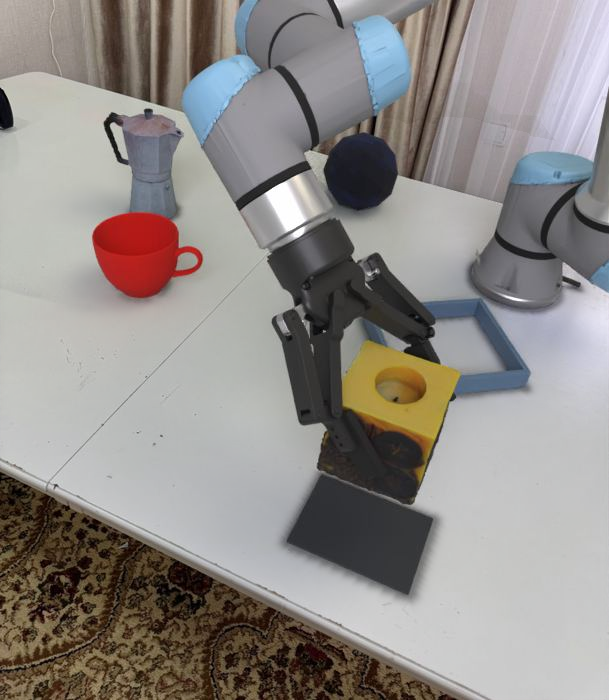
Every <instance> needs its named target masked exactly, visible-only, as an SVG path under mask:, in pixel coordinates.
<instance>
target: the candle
mask: <svg viewBox="0 0 609 700" xmlns="http://www.w3.org/2000/svg"><path fill="white" fill-rule="evenodd" d="M388 347H389V346H388ZM388 347H386V346H383V345H380V344H378V343H375V342H372V341H371V339H370V340H369V339H367V340H365V341H363V342H362V344H361V347H360V349H359V352H358V354H357V355H356V357H355V358H354V359H353V362H352V363H351V365H350V367H349V368H348V369H347V371H345V374H344V376H342V400H343V411H344V410H349V409H352V411H353V413H354V414H355V416H356V418H357V420H358V421H359V423H360V425H361V427H362V428H363V430H364V432H365V434H366V435H367V437H368V439H369V441H370V442H371V444H372V446H373V448H374V449H375V451H376V453H377V455H378V456H379V458H380V460H381V462H382V463H383V465H384V467H385V469H386V471H387V472H386V473H385V474H384V475H383V476H380V477H361V476H360V474H359V472H358V470H357V469H356V467H355V465H354V464H353V462H352V460H351V458H350V457H349V455H348V453H347V452H341V451H340V450H339V449H338V448H337V446H336V445H335V443H334V441H333V439H332V438H331V436H330V434H329V433H328V431H327V430H325V431H324V433H323V437H322V438H321V442H320V451H319V454H318V459H317V462H316V469H317V470H318V471H319V472H324V473H326V475H330V476H333V477H335V478H337V479H339V481H343V482H347V483H349V484H352V485H354V486H356V487H359V488H363V489H365V490H367V491H368V492H373V493H376V494H377V495H382V496H385V497H387V498H390V499H392V500H395V501H397V502H399V503H400V504H402V505H409V506H412V505H413V504H415V502H416V498H417V496H418V493H419V491H420V490H421V487H422V485H423V482H424V478H425V476H426V473H427V472H428V471H427V470H428V468H429V465H430V463H431V461H432V459H433V456H434V453H435V448H436V446H437V444H438V443H439V441H440V436H441V433H442V432H443V431H442V430H443V428H444V425H445V420H446V417H447V413H448V412H449V406H450V403H451V402H450V399H451V398H452V396H453V395H454V389H455V386H456V384H457V382H458V379H459V377H460V375H461V372H460V370H458V369H455V368H453V367H450V366H447V365H443V364H441V365H440V364H437V363H433V362H430V361H427V360H424V359H421V358H418V357H415V356H412V355H409V354H406V353H404V352H403V351H400V350H397V349H393V348H392V347H389V348H388Z"/></svg>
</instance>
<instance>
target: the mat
mask: <svg viewBox="0 0 609 700" xmlns="http://www.w3.org/2000/svg"><path fill="white" fill-rule="evenodd" d="M301 511H302V512H301V513H300V515H299V517H298V519H297V520H296V523H295V525H294V526H293V528H292V530H291V532H290V534H289V536H288V538H287V540H286V543H288V544H289V545H292V546H294V547H297V548H298V549H301V550H304V551H306V552H308V553H310V554H313V555H315V556H318V557H319V558H322V559H325V560H327V561H328V562H331V563H334V564H335V565H338V566H339V567H342V568H345V569H347V570H350V571H351V572H354V573H356V574H358V575H361V576H363V577H366V578H367V579H370V580H371V581H372V580H373V581H374V582H377V583H380V584H382V585H384V586H386V587H389V588H392V589H393V590H395V591H397V592H399V593H402V594H405V595H407V596H409V595H410V592H411V588H412V586H413V582H414V579H415V576H416V574H417V571H418V567H419V564H420V562H421V558H422V555H423V553H424V549H425V547H426V543H427V540H428V537H429V534H430V531H431V527H432V525H433V521H434V518H433V517H430V516H428V515H425V514H422V513H420V512H417V511H415V510H413V509H409V508H408V507H405V506H403V505H399V504H397V503H395V502H392V501H390V500H387V499H385V498H382V497H380V496H377V495H375V494H372V493H370V492H367V491H365V490H362V489H359V488H357V487H354V486H352V485H349V484H347V483H346V482H345V483H344V482H342V481H341V480H337V479H335V478H332V477H330V476H327V475H324V474H321V476H320V477H319V478H318V481H317V483H316V484H315V487H314V489H313V490H312V492H311V494H310V496H309V498H308V500H307V502H306V503H305V505H304V508H303V510H301Z"/></svg>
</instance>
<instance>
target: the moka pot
mask: <svg viewBox="0 0 609 700" xmlns="http://www.w3.org/2000/svg"><path fill="white" fill-rule="evenodd" d="M153 112H154V109H152V108H150V107H149V108H148V107H146V108H144V109H143V113H139V114H135V115H132V116H128V115H126V114H118V113H116V112H113V111H111V112H110V114H108V116H106V118H105V120H103V123H102V125H103V127H104V128H103V129H104V131H105V134H106V137H107V138H108V141H109V144H110V146H111V148H112V149H113V154H114V155H115V158H116V161H117V163H119V164H121V165H124V166H129V167H130V168H131V174H132V176H131V185H130V186H131V188H130V200H129V201H130V202H129V203H130V204H129V213H134V212H145V213H153V214H157V215H161V216H163V217H166V218H168V219H170V220H171V219H173V217H175V216H176V215H177V201H176V196H175V194H176V193H175V188H174V182H173V177H172V172H173V171H172V170H173V169H172V168H173V161H174V160H173V159H174V155H175V153H176V150H177V148H178V146H179V144H180V142H181V140H182V139H183V138H185V134H184V133H185V132H184V131H182V130H181V129H180V128H179V127H177V126H176V125H177V123H176V121H175V120H173V119H171V118H169V117H166V116H164V115H163V114H157V113H154V114H153ZM113 123H114V124H115V125H117V126H118V127H120V128H121V132H122V136H123V140H124V145H125V150H126V155H127V159H126V158H123V157H122V154H121V152H120V150H119V146H118V144H117V142H116V141H117V140H116V138H115V136H114V132H113V130H112V128H111V124H113Z"/></svg>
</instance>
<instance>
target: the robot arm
mask: <svg viewBox="0 0 609 700" xmlns="http://www.w3.org/2000/svg"><path fill="white" fill-rule="evenodd" d="M437 2H439V0H243V2H242V3H241V5H240V6H239V8H238V10H237V13H236V16H235V18H234V19H235V20H234V26H233V29H234V30H233V31H234V38H235V39H234V40H235V42H236V45H237V47H238V49H239V51H240V53H241V54H234V55H233V56H230V57H229V58H227V59H226V58H223V59H219V61H218V60H217V61H216V62H214V63H213V64H211V65H209V66H208V67H206V68H205V69H203V70H202V71H200V72H199V73H197V75H195V76H194V77H193V78H192V79H191V80H190V81H189V83H188V84H187V85H186V86H185V88H184V90H183V91H182V95H181V103H180V106H181V109H182V111H183V113H184V115H185V117H186V119H187V121H188V123H189V125H190V127H191V129H192V131H193V133H194V135H195V137H196V139H197V141H198V142H199V146H200V149H201V150H202V152H204V154H205V156H206V158H207V159H208V161H209V162H210V164H211V166H212V168H213V170H214V171H215V173H216V175H217V176H218V178H219V180H220V181H221V183H222V185H223V187H224V189H225V190H226V192H227V193H228V195H229V197H230V199H231V200H232V202H233V204H235V207H236V209H237V210H238V213H239V215H240V216H241V218H242V219H243V221H244V223H245V225H246V226H247V228H248V230H249V232H250V234H251V235H252V237H253V239H254V241H255V242H256V244H257V246H258V248H259V249H260V250H265V251H266V250H268V252H269V254H268V255H267V256H266V258H267V260H266V263H267V264H268V266H269V268H270V269H271V271H272V273H273V275H274V276H275V278H276V280H277V282H278V283H279V285H280V286H281V288H282V289H283V290H285V291H287V292H288V293H289V294H290V295H291V298H292V300H293V307H291V308H290V309H288V310H285V311H282V312H280V313H278V314H276V315H274V316H273V317H271V325H272V327H273V329H274V331H275V333H276V335H277V337H278V339H279V340H280V343H281V347H282V351H283V355H284V360H285V364H286V370H287V374H288V379H289V383H290V389H291V393H292V397H293V402H294V406H295V407H294V408H295V412H296V416H297V421H298V423H299V425H301V426H302V427H305V426H311V425H317V424H322V425H323V426H324V427H325V429H326V431H328V433H329V434H330V436H331V438H332V439H333V441H334V443H335V445H336V446H337V448H338V449H339V450H340V451H341V452H347V453H348V455H349V457H350V458H351V460H352V462H353V464H354V465H355V467H356V469H357V470H358V472H359V474H360V476H361V477H380V476H383V475H384V474H385V473H386V472H387V471H386V469H385V467H384V465H383V463H382V462H381V460H380V458H379V456H378V455H377V453H376V451H375V449H374V448H373V446H372V444H371V442H370V441H369V439H368V437H367V435H366V434H365V432H364V430H363V428H362V427H361V425H360V423H359V421H358V420H357V418H356V416H355V414H354V413H353V411H352V409H349V410H344V411H343V400H342V379H343V375H342V374H343V373H342V347H341V346H342V345H341V344H342V343H341V342H342V341H343V339H344V337H345V329H348V328H349V327H350V326H351V325H352V324H353V322H355V320H357V319H359V318H362V319H363V318H365V319H366V320H368V321H370V322H371V323H373V324H375V325H376V326H378V327H380V329H381V330H383V331H385V332H386V333H388V334H389V335H391V336H393V337H395V338H396V339H398V340H400V341H402V342H403V343H404V344H406V345H409V346H407V347H405V348H404V349H403V350H402V352H403V353H406V354H409V355H412V356H415V357H418V358H421V359H424V360H427V361H430V362H433V363H437V364H440V365H442V364H441V360H440V357H439V356H438V354H437V352H436V350H435V349H434V347H433V345H432V343H431V341H430V339H432V338H434V337H436V330H435V328H434V327H433V326H434V325H436V318H435V317H434V316H433V315H432V314H431V312H430V311H429V310H428V309H427V308H426V307H425V306H424V305H423V304H422V303H421V302H422V301H420V300H419V299H418V298H417V296H415V295H414V294H413V292H411V291H410V290H409V288H407V287H406V286H405V285H404V284H403V283H402V282H401V281H400V280H399V278H397V276H396V275H394V274H393V273H392V271H390V269H389V268H388V265H387V264H386V262H385V260H384V259H383V257H382V255H381V254H380V253H379V252H376V251H375V252H373V253H371V254H369V255H367V256H365V257H363V258H361V259H358V260H357V261H356V260H355V259H354V258H353V254H354V252H355V246H354V243H353V242H352V240H351V238H350V236H349V235H348V233H347V231H346V228H345V227H344V225H343V223H342V221H341V220H340V219H337V217H332V216H331V214H330V213H331V212H332V211H333V207H334V206H333V204H332V202H331V201H330V199H329V197H328V195H327V193H326V192H325V190H324V188H323V186H322V185H321V182H320V181H319V179H318V177H317V175H316V174H315V172H314V171H313V168H312V165H310V163H309V161H308V159H307V156H306V155H305V154H306V153H307V152H308V151H310V150H312V149H314V148H316V147H318V146H319V145H320V144H322V143H325V142H326V141H329V140H331V139H332V138H334V137H336V136H337V135H339V134H342V133H344V132H345V131H347V130H349V129H351V128H353V127H355V126H357V125H359V124H361V123H363V122H365V121H367V120H368V119H371V118H372V117H376V116H378V115H379V114H380V112H381V111H382V110H384V109H385V108H387V107H389V106H390V105H392V104H393V103H395V102H396V101H398V100H400V99H401V98H403V97H404V96H405V95H406V93H407V92H408V91H409V89H410V86H411V81H412V68H411V60H410V55H409V51H408V48H407V46H406V44H405V42H404V39H403V37H402V35H401V33H400V31H398V29H397V28H396V26H395V25H396V24H398V23H399V22H401V21H403V20H405V19H407V18H409V17H411V16H412V15H414V14H416V13H418V12H420V11H422V10H424V9H425V8H428V7H429V6H431V5H433V4H435V3H437ZM500 209H501V210H500V212H499V215H498V216H499V217H498V219H497V223H496V227H495V230H494V234H493V236H492V238H491V239H490V240H489V242H488V243H487V245H486V246H485V247H484V248H483V250H482V251H481V253H480V254H479V251H478V249H476V250H475V257H476V259H474V262H473V265H472V268H471V272H470V277H471V281H472V283H473V285H474V286H475V287H476V289H478V291H479V292H480V293H481V294H482V295H485V296H486V297H487V298H489V299H491V300H493V301H495V302H496V303H498V304H501V305H504V306H509V307H512V308H516V309H517V308H518V309H523V310H524V309H527V310H535V309H541V308H546V307H548V306H550V305H553V304H554V303H555V302H556V301H557V300H558V298H559V296H560V294H561V291H562V289H563V283H566V284H569V285H571V286H574V287H576V288H580V287H581V286H582V283H581V282H580V281H577V280H575V279H572V278H570V277H567V276H565V275H563V273H564V272H563V271H564V269H563V267H564V264H565V265H567V266H568V267H569V268H570V269H572V270H573V271H575V273H577V274H579V275H580V277H582V278H584V279H585V280H586V281H587V282H588V283H589V284H590V285H594V286H595V287H597V288H599V289H601V290H602V291H604V292H605V293H608V294H609V87H608V88H607V92H606V98H605V103H604V108H603V114H602V118H601V123H600V128H599V134H598V137H597V143H596V149H595V154H594V159H593V161H592V160H590V159H589V158H586V157H584V156H582V155H578V154H573V153H568V152H562V151H537V152H536V151H535V152H531V153H528V154H526V155H524V156H522V157H520V159H519V160H518V162H516V165H515V168H514V170H513V172H512V175H511V177H510V178H509V181H508V185H507V189H506V192H505V196H504V199H503V203H502V206H501V208H500ZM366 285H367V286H366ZM416 316H418V317H419V318H417V317H416ZM308 324H309V325H308ZM306 326H308V329H309V331H308V330H307V328H306ZM456 399H457V394H455V393H454V395H453V396H452V398H451V399H450V402H449V403H452V402H454V401H455V400H456Z"/></svg>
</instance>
